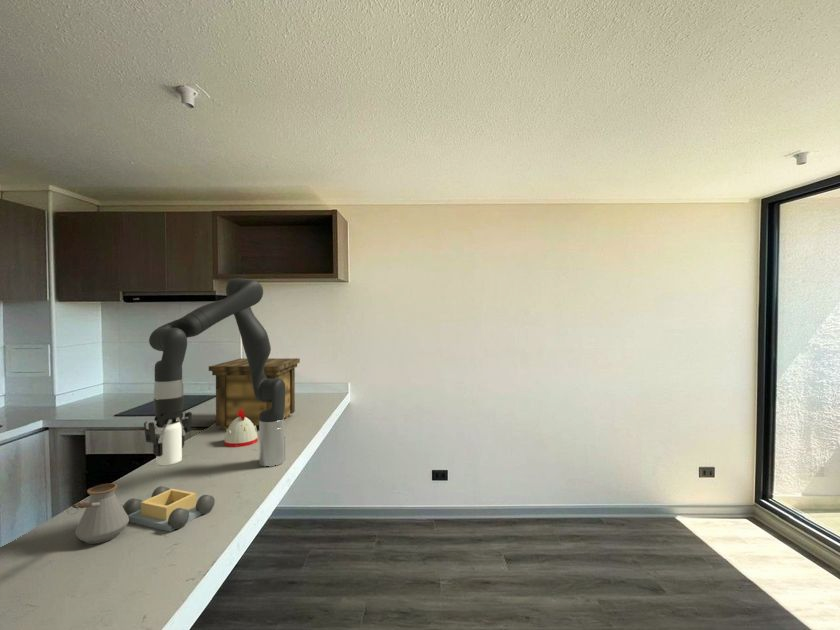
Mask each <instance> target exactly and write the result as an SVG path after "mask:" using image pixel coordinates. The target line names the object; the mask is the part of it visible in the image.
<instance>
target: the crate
mask: <svg viewBox="0 0 840 630" xmlns="http://www.w3.org/2000/svg"><path fill="white" fill-rule="evenodd" d="M300 363H301V358H297V357H296V358H294V357H293V358H288V357H287V358H268V359H267V361H266V363H265V366H264V374H265V377H266V378H267V379H282V380H283V381H284V383H285V387H286V394H285V411H284V420H287V419H288V418H289V417H290V415H291V414H293V413H295V412H296V406H295V405H296V397H295V396H296V392H295V391H296V388H295V387H296V386H295V385H296V379H295V377H296V375H295V374H296V372H295V371H296V370H295V369H296V368H298V364H300ZM208 372H212V374H211V375H212V376H215V426H217V427H221V426H222V430H226V429H228V427H229V426H230V424H231V423H232V422H233V420H235V419H236V418H237V417H238V411H239V410H240V409H242V410H243V411H244V414H245V417H246V418H248V419H249V420H250V421H251V422H252V423H253V425H254V426H259V414H260V413H261V412H263V411H265V410H268V409H270V408H271V406H272V402H260V401H258V400H257V399H256V397H255V395H254V390H253V384H252V378H251V372H250V368H249V364H248V360H247V358H236V359H233V360H229V361H225V362H221V363H217V364H213V365H209V366H208Z"/></svg>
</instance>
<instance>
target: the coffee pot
mask: <svg viewBox="0 0 840 630" xmlns="http://www.w3.org/2000/svg"><path fill="white" fill-rule="evenodd" d="M117 488H118V484H117V483H102V484H98V485H95V486H93V487H90V488H88V489H87V490H86V492H87V494H88V495H89V497H90V499H89V502H77V503H73V504H72V505H71V506H69V507H68V508H67V509H66V513H67V514H69V515H71V513H70V512H69V508H74V509H77V510H76V511H75V512H73V513H72V515H74V514H76V513H78V511H79V509H85V510H84V512H83V514H82V516H81V519H80V520H79V522H78V524H77V526H76V529H75V534H74V535H76V537H77V538H78V539H79V540H80V541H82V542H85V543H86V544H91V545H93V544H100V543H101V544H102V543H105V542H108V541H110V540H112V539H115V538H117V537H118V536H119V535H120V534H121V533H122V532H123V530H125V529H126V527H127V526H128V524H129V523H130V522H129V517H128V515H127V513H126V512H125V510H124V508H123V505H122V503H121V501H120V500H119V498H118V497H117V495H116V493H115V492H116V489H117Z"/></svg>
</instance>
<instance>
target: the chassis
mask: <svg viewBox="0 0 840 630" xmlns="http://www.w3.org/2000/svg"><path fill="white" fill-rule="evenodd" d="M150 496H151V497H150V498H148V499H144V500H141V499H139V498H135V497H134V498H130V499H127V500H126V501H125V502H124V504H123V505H122V507H123V508H124V510H125V512H126V513H127V515H128V517H129V522H128V523H132V524H137V525H141V526H145V527H150V528H154V529H158V530H163V531H167V532H173V531H174V530H176V529H177V530H179V529H182V528H184V527H185V526H186V524H188V523H189V522H191V521H192V520H194V519H197V518H198V517H200V516H202V515H207V514H208V513H210V512H211V511H212V510H213V508H214V507H215V504H216V503H215V497H214V496H213V495H208V494H202V495H201V496H199V498H198V499H197V492H191V491H187V490H181V489H176V488H170V487H167V486H160V485H159V486H157V487H156V488H155V489H154V490H153V491H152V493H151V495H150Z"/></svg>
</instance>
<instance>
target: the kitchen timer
mask: <svg viewBox="0 0 840 630" xmlns="http://www.w3.org/2000/svg"><path fill="white" fill-rule="evenodd" d="M258 441H259V436H258V430H257V425H253V423H252V422H251V421H250V420H249V419H248V418H246V417H245V414H244V411H243V410H242V409H240V410H239V411H238V417H237V418H236V419H235V420H233V422H232V423H231V424H230V426H229V427H228V429H225V434H224V446H226V447H229V448H240V447H247V446H251V445H254V444H256V443H258Z"/></svg>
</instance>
